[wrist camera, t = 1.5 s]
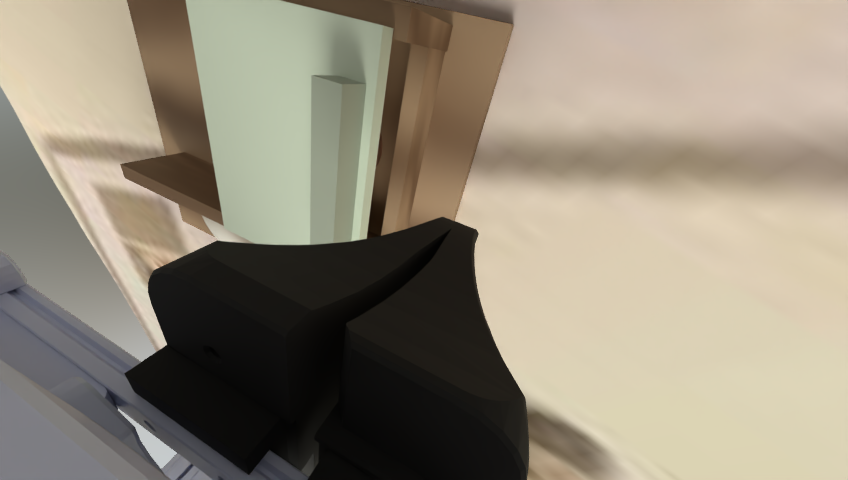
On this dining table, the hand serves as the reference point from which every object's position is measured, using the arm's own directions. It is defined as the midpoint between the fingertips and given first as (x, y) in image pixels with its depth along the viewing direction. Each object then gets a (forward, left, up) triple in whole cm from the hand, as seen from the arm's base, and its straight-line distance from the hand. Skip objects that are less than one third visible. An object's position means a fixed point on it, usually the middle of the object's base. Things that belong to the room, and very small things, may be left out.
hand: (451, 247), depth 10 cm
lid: (0, +9, -2) cm, 9 cm away
